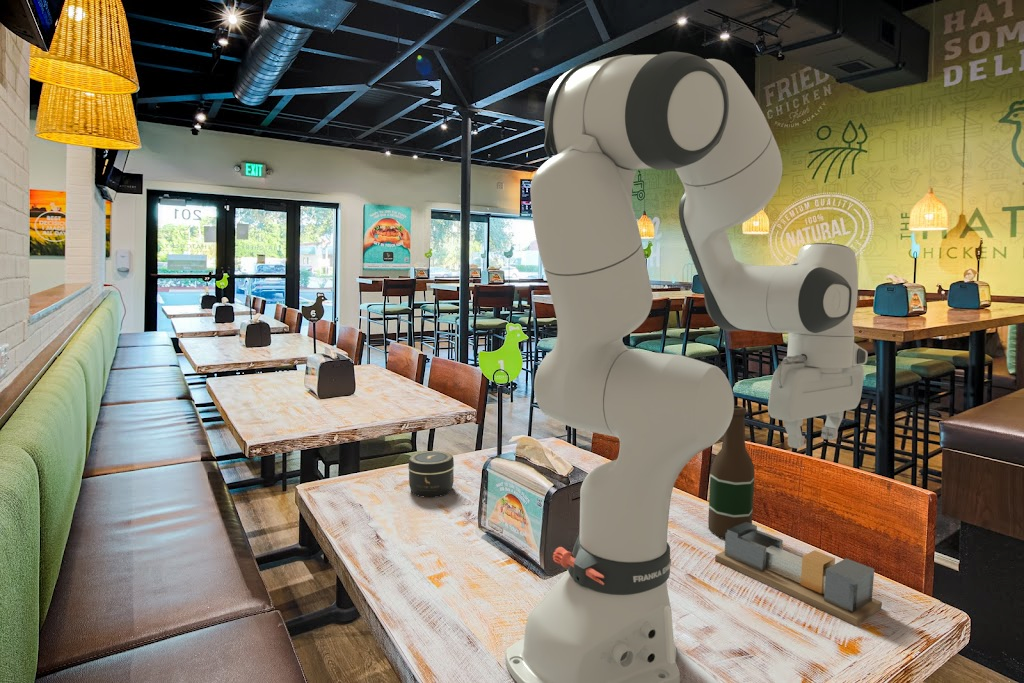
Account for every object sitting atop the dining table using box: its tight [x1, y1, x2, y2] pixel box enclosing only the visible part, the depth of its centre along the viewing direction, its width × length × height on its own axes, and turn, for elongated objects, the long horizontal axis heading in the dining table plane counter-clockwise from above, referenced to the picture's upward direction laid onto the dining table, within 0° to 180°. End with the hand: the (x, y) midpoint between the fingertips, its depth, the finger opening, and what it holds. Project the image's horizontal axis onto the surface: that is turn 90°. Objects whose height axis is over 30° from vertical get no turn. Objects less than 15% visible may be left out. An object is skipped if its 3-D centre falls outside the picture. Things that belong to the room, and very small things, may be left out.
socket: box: [824, 557, 875, 613], centre depth 88 cm, size 6×4×5 cm
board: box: [714, 550, 883, 626], centre depth 95 cm, size 8×23×1 cm, turn 35°
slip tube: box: [765, 546, 836, 594], centre depth 93 cm, size 3×14×5 cm, turn 35°
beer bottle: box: [707, 404, 755, 539], centre depth 112 cm, size 8×8×24 cm
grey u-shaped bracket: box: [724, 522, 784, 572], centre depth 101 cm, size 5×7×5 cm
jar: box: [407, 450, 455, 498], centre depth 134 cm, size 10×10×8 cm
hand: (812, 442), depth 93 cm, fingers open, 8 cm apart
